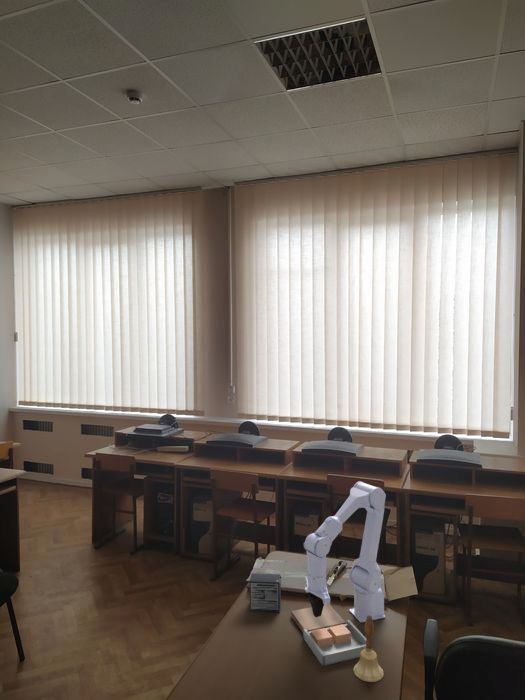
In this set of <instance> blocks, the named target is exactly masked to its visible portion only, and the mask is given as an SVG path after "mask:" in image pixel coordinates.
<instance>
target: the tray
mask: <svg viewBox="0 0 525 700" xmlns="http://www.w3.org/2000/svg"><path fill="white" fill-rule="evenodd" d="M344 626H345V627H346V628H347V629H348V630H349V631H350V632H351V641H348V642H344V643H339V644H336V643H335V642H334V641H333V645H330V646H325V647H321V648H320V647H319V646H318V645H317V643H316V642H315V641H314V639H313V638H312V637H311V631H310V632H308V631H307V630H306V629H303V633H302V637H303V638H302V639H303V641H305V643H306V644H307V646H308V648H309V649H310V650H311V651H312V653H313V655H314V656H315V657H316V659H317V660H318V662H319V664H320V665H322V667H326V666H329V665H333V664H338V663H342V662H343V663H344V662H347V661H350V660H355V659H360V655H361V651H362V650H364V649H366V635H364V634H363V633H362V632H361V631H360V630H359V629H358V628H357V626H356V625H355V624H354V623H353V622H352V621H351V620H350V619H347V620H346V624H344ZM326 629H327V631H328V632H329V628H326Z"/></svg>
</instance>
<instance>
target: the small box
mask: <svg viewBox="0 0 525 700" xmlns="http://www.w3.org/2000/svg"><path fill="white" fill-rule="evenodd" d="M281 578H282V577H281V574H280V573H279V574H278V573H251V574H250V578H249V611H250V612H271V613H272V612H273V613H280V612H281V606H282V594H281V593H282V590H281V589H282V588H281V587H282V585H281V584H282V582H281Z"/></svg>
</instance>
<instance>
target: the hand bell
mask: <svg viewBox="0 0 525 700" xmlns="http://www.w3.org/2000/svg"><path fill="white" fill-rule="evenodd" d="M374 624H375V623H374V620H372V616H367V619H366V622H364V634H365V635H364V636H365V638H366V649H364V650H362V651H361V655H360V658H359V660H358V662H357V663H355V665H354V667H353V673H354V674H353V675H354V676H356V677H357V678H358V679H359V680H361V681H364V682H366V683H367V682H368V683H376V682H379V681H381V680H382V679H383V677H384V670H383V668H382V667H381V666H380V664H379V662H378V654H377V653H376V651H375V650H373V636H374V633H375V632H374V631H375V625H374Z"/></svg>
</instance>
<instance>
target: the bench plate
mask: <svg viewBox="0 0 525 700" xmlns="http://www.w3.org/2000/svg"><path fill="white" fill-rule="evenodd" d="M290 615H291V616H290V617H291V619H292V620H293V622H295V625H296V626H297V627H298V629H299V630H300V631H301V632H302V634H303V629H306V630H307V631H308V632H310V631H313V630H317V629H322V628H329V627H332V626H337V625H342V624H347V621H345V619H344V618H342V617H341V615H339V613H338V612H337V611H336V610H335V609H334V607H332V605H331V603H330V604H326V605H324V607H323V610H322V614H321V616H319V617H315V616H314V615H313V611H312V606H310V607H305V608H300V609H296V610H295V609H294V610H291V612H290Z"/></svg>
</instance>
